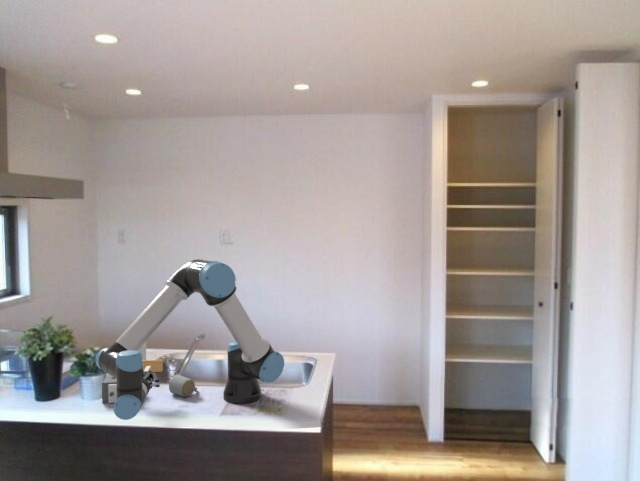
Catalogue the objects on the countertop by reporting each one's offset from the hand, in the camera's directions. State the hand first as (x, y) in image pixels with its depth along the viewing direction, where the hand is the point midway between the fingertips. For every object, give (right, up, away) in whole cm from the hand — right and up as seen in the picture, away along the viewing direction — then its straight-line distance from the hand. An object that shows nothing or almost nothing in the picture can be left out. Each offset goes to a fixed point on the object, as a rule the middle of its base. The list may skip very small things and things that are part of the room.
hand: (148, 369), depth 188 cm
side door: (-7, -15, +9) cm, 19 cm away
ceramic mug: (+9, -15, +18) cm, 25 cm away
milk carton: (-26, -12, +58) cm, 65 cm away
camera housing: (-16, -15, +13) cm, 25 cm away
